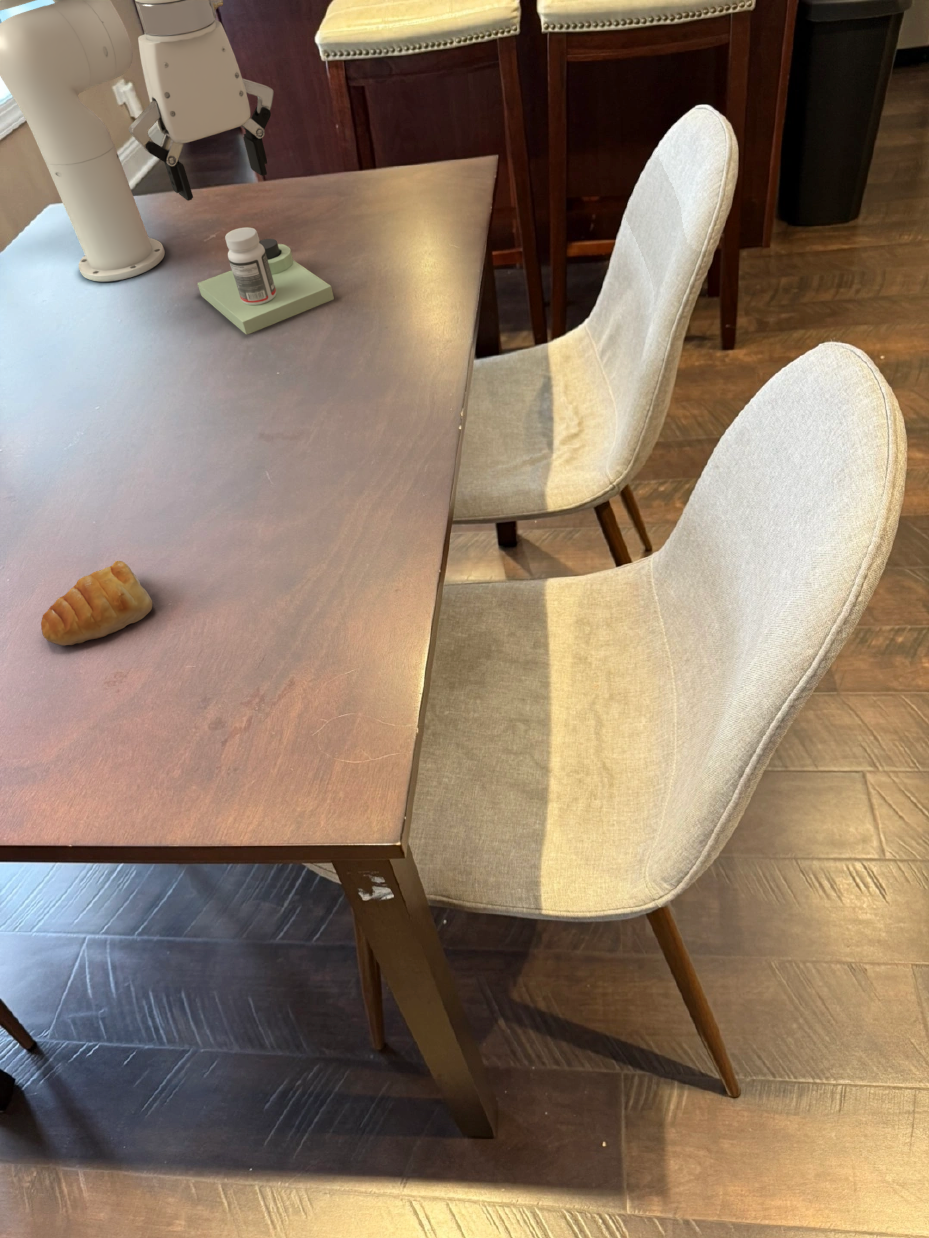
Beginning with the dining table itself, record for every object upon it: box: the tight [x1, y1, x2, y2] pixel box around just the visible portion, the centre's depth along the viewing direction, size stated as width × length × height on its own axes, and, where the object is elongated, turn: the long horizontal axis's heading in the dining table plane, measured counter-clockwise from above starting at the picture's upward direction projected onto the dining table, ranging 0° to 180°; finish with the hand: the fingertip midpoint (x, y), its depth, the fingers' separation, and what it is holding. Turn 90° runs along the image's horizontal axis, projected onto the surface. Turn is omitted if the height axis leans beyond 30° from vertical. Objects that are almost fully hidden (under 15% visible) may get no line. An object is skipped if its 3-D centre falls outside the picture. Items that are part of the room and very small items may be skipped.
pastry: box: [40, 560, 153, 646], centre depth 76 cm, size 9×7×4 cm
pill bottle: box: [224, 226, 276, 305], centre depth 110 cm, size 5×5×8 cm
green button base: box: [196, 243, 335, 336], centre depth 116 cm, size 15×13×4 cm
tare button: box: [259, 238, 280, 260], centre depth 118 cm, size 3×3×2 cm
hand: (223, 184), depth 104 cm, fingers open, 9 cm apart
